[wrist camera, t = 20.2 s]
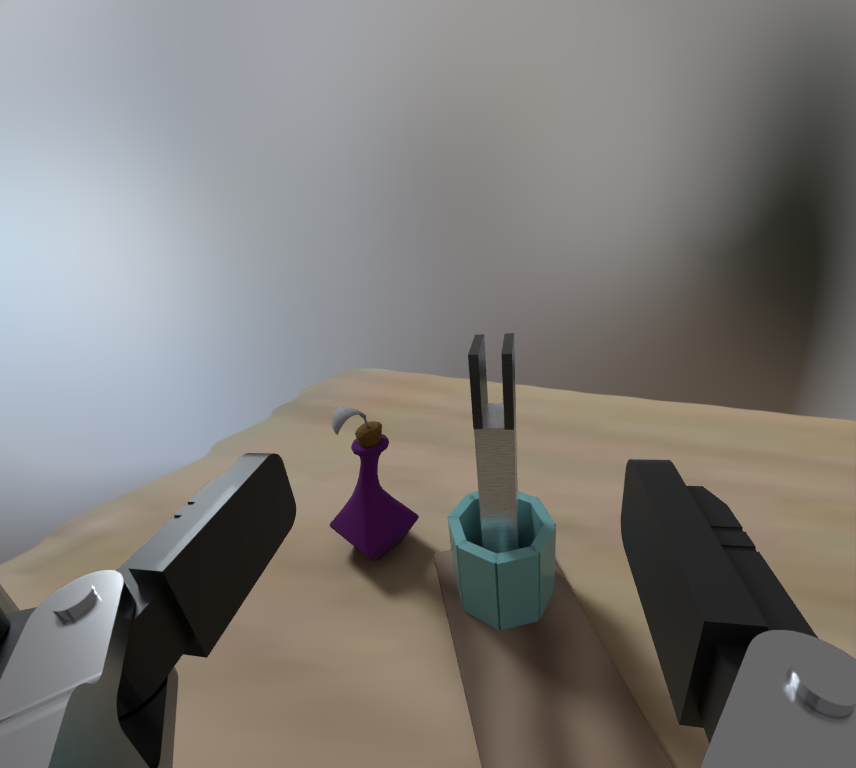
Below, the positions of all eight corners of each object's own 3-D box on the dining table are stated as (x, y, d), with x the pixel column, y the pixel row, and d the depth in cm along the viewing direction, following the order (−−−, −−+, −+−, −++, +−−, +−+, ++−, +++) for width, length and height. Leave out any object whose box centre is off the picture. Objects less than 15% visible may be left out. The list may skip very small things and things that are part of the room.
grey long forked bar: (482, 594, 38) (463, 354, 29) (486, 557, 42) (471, 335, 33) (521, 599, 38) (516, 353, 28) (522, 560, 41) (517, 333, 32)
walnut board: (529, 975, 21) (529, 969, 20) (434, 560, 45) (433, 553, 45) (743, 904, 22) (747, 897, 22) (538, 538, 46) (538, 531, 46)
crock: (470, 637, 36) (463, 571, 33) (449, 557, 44) (441, 498, 41) (567, 614, 37) (570, 547, 34) (529, 540, 45) (528, 481, 42)
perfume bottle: (382, 511, 54) (357, 386, 46) (422, 537, 49) (402, 402, 41) (334, 545, 49) (298, 413, 42) (373, 579, 44) (340, 435, 37)
